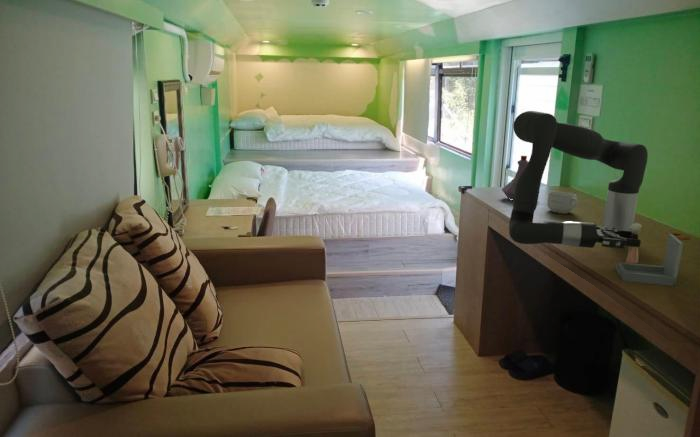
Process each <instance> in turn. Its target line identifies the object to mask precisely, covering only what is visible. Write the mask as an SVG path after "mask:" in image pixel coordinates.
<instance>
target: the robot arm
mask: <svg viewBox="0 0 700 437" xmlns="http://www.w3.org/2000/svg"><path fill="white" fill-rule="evenodd" d="M512 127H513V132H514V134H515V136H516V137H517V138H518V139H519V140H521V141H522V142H525V143H530V144H532V145H531V146H532V147H531V154H530V158H529V160H528V164H527V166H526V167H525V169H524V170H523V172H522V173H521V175H520V176H519V178H518V180H517V183H516V187H515V193H514V200H513V201H512V210H511V214H510V218H509V219H510V220H509V224H508V231H509V233H508V234H509V237H510V238H511V240H513V242H515V243H517V244H522V245H537V244H554V245H561V246H562V245H563V246H568V247H577V248H586V249H587V248H590V249H592V248H594V247H595V246H596V244H597V243H600V244H601V247H603V248H613V249H615V248H616V249H622V250H623V249H625V247H628V246H631V247H638V248H640V247H641V242H642V240H641V239H639V238H638V239H631V238H630V237H631V235H632V233H631V229H629V227H630V226H631V225H632V224H634V222H635V216H636V211H637V206H638V205H637V204H638V199H639V198H638V197H639V192H640V188H641V187H642V184H643V181H644V178H645V177H644V176H645V173H646V169H647V163H648V150H647V147H646V146H645V145H643V144H640V143H634V142H627V141H626V142H625V141H616V140H610V139H606V138H603V135H602V134H601V133H599V131H596V130H593V129H590V128H588V127H585V126H581V125H576V124H572V123H571V124H570V123H566V122H565V123H564V122H558V121H557V119H556V117H555V116H554V115H553V114H552V113H548V112H542V111H536V110H528V111H524V112H521V113H520V114H518V115H517V117H516V118H515V119H514V121H513V124H512ZM552 149H554V150H558V151H559V152H562V153H565V154H568V155H570V156H573V157H576V158H579V159H584V160H589V161H590V160H591V161H597V162H599V163H602V164H604V165H607V166H608V167H610V168H613V169H615V170H619V171H623V172H622V176H621V177H620V178H618V179H612V180H610V181H609V182H608V187H607V194H606V202H605V206H604V207H605V209H604V214H603V222H602V226H601V225H600V226H598V225H597V224H596V223H595V222H583V221H571V220H570V221H569V220H568V221H560V220H559V221H558V220H545V221H543V222H533V221H534V214H535V211H536V209H537V206H538V200H539V194H540V193H539V192H540V190H541V189H540V188H541V184H542V179H543V175H544V172H545V169H546V166H547V163H548V160H549V157H550V155H551V152H552Z"/></svg>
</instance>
